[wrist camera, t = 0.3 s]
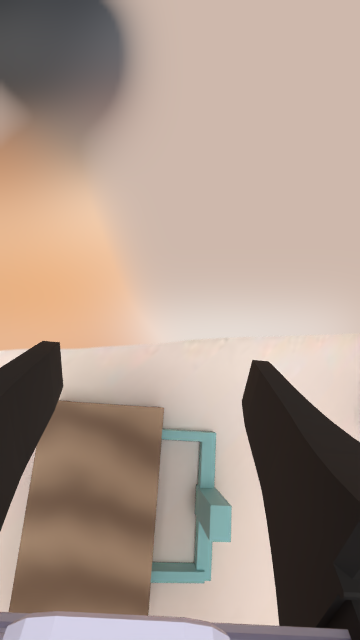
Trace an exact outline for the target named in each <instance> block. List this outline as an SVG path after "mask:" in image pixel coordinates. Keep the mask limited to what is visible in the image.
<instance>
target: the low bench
mask: <svg viewBox="0 0 360 640" xmlns="http://www.w3.org/2000/svg"><path fill="white" fill-rule="evenodd" d="M163 413H164V408H161V407H141V406H127V405H112V404H97V403H82V402H70V401H60V400H58V403H57V405H56V408H55V411H54V413H53V415H52V417H51V419H50V421H49V423H48V425H47V427H46V429H45V430H44V432H43V434H42V436H41V438H40V440H39V442H38V444H37V447H36V453H35V459H34V465H33V471H32V477H31V483H30V488H29V494H28V500H27V506H26V512H25V518H24V524H23V530H22V536H21V542H20V548H19V554H18V560H17V566H16V572H15V578H14V584H13V590H12V596H11V602H10V607H9V612H11V613H39V612H53V611H65V612H85V613H105V614H125V615H144V616H148V610H149V597H150V584H151V571H152V557H153V544H154V531H155V518H156V505H157V492H158V479H159V465H160V452H161V439H162V426H163Z"/></svg>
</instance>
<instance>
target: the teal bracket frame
mask: <svg viewBox="0 0 360 640" xmlns="http://www.w3.org/2000/svg"><path fill="white" fill-rule="evenodd" d="M162 439H165V440H182V441H200V452H199V473H198V485H196V501H195V514H196V537H195V558H194V563H165V562H152V571H151V583H204V581H211V561H212V542H231V505H230V504H229V503H228V502H227V500H226V499H225V498H224V497H223V496H222V495H221V494H220V493H219V492H218V490H217V489H216V488H215V487H214V477H215V449H216V433H215V432H206V431H190V430H173V429H162Z"/></svg>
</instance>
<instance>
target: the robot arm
mask: <svg viewBox="0 0 360 640" xmlns="http://www.w3.org/2000/svg"><path fill="white" fill-rule="evenodd" d="M62 388H63V378H62V365H61V352H60V343H59V342H48V341H42V342H40V343H39V344H37V345H35V346H34V347H32V348H31V349H29V350H27V351H26V352H24V353H23V354H21V355H20V356H18V357H17V358H15V359H13V360H12V361H10V362H9V363H7V364H6V365H4V366H2V367H1V368H0V531H1V528H2V525H3V523H4V520H5V517H6V515H7V512H8V509H9V507H10V504H11V501H12V499H13V496H14V494H15V491H16V489H17V486H18V484H19V481H20V479H21V476H22V474H23V472H24V470H25V468H26V465H27V463H28V461H29V459H30V458H31V456H32V454H33V452H34V450H35V448H36V446H37V444H38V442H39V440H40V438H41V436H42V434H43V432H44V430H45V429H46V427H47V425H48V423H49V421H50V419H51V417H52V415H53V413H54V411H55V408H56V405H57V403H58V400H59V397H60V394H61V391H62ZM242 407H243V416H244V423H245V428H246V432H247V436H248V440H249V444H250V447H251V451H252V455H253V459H254V462H255V466H256V470H257V473H258V477H259V481H260V485H261V490H262V495H263V501H264V507H265V513H266V519H267V526H268V533H269V540H270V547H271V554H272V562H273V570H274V579H275V587H276V596H277V606H278V616H279V626H270V625H250V624H230V623H210V622H207V621H201V620H195V619H190V618H184V617H164V616H144V615H125V614H105V613H85V612H65V611H53V612H39V613H11V612H0V640H360V442H359V441H357V440H356V439H354V438H353V437H352V436H350V435H349V434H348V433H346V432H345V431H344V430H342V429H341V428H340V427H338V426H337V425H336V424H334V423H333V422H332V421H331V420H329V419H328V418H327V417H326V416H325V415H324V414H322V413H321V412H320V411H319V410H318V409H317V408H316V407H314V406H313V405H312V404H311V403H310V402H309V401H308V400H307V399H306V398H305V397H304V396H303V395H301V394H300V393H299V392H298V391H297V390H296V389H295V388H294V387H293V386H292V385H291V384H290V383H289V382H288V381H287V380H286V379H285V378H284V376H283V375H282V374H281V373H280V372H279V371H278V370H277V369H276V368H275V367H274V366H273V365H272V364H271V363H269V362H268V361H257V360H252V364H251V368H250V372H249V376H248V379H247V383H246V387H245V391H244V395H243V399H242Z"/></svg>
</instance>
